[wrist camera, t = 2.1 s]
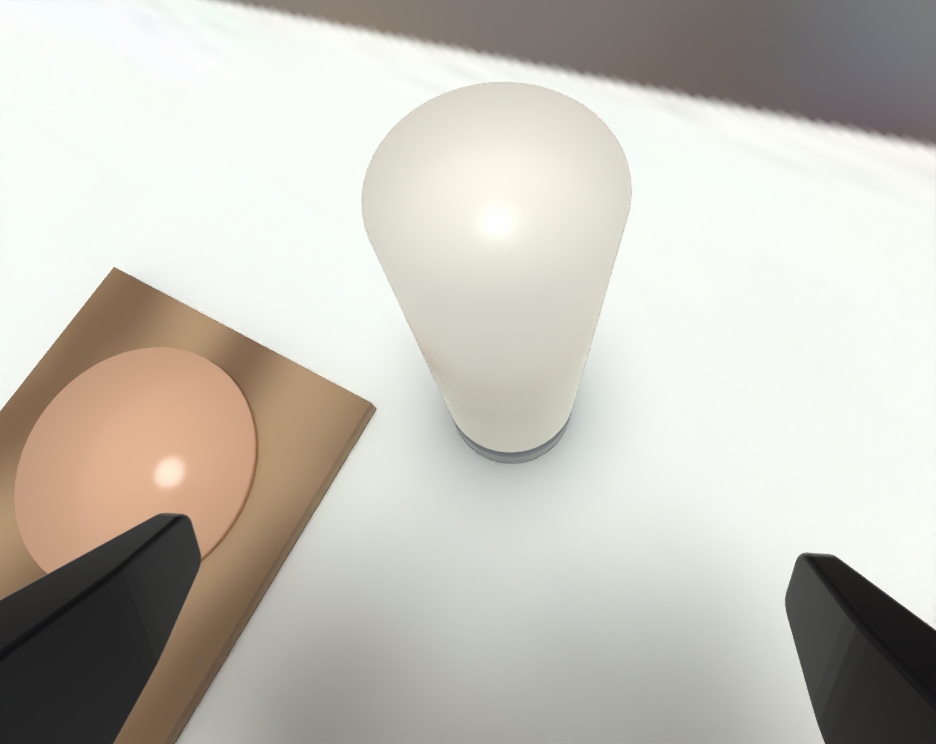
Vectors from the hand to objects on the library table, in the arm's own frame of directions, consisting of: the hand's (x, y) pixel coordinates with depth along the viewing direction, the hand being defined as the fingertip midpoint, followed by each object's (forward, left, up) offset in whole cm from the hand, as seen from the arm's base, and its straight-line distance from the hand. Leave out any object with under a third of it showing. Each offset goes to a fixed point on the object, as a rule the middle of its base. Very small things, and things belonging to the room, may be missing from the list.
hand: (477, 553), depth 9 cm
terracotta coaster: (+13, +3, -11) cm, 18 cm away
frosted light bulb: (+2, -5, -12) cm, 13 cm away
